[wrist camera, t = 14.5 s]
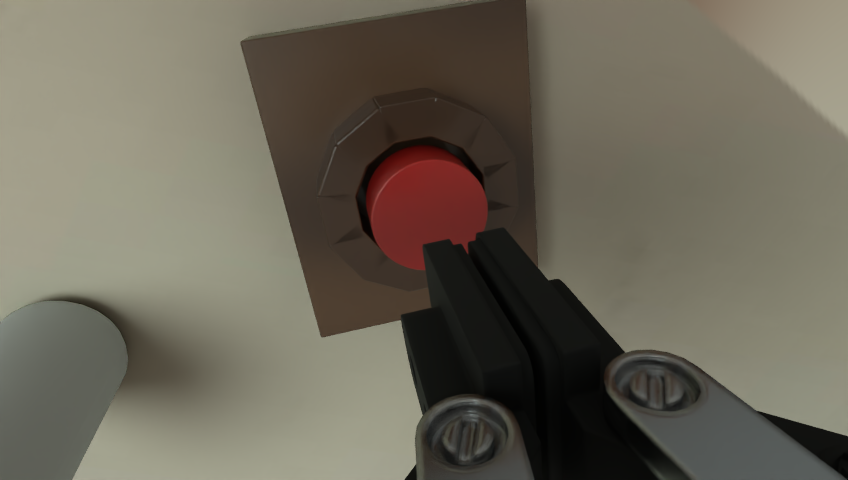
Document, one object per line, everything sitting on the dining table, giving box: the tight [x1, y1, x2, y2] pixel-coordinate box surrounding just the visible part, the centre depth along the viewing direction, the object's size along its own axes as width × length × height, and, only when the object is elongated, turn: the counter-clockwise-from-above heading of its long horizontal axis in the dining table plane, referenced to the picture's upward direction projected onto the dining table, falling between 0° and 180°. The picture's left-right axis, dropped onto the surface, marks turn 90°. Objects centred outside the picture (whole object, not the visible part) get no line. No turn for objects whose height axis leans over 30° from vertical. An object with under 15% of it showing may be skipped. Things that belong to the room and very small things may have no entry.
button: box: [366, 145, 488, 270], centre depth 16 cm, size 4×4×2 cm
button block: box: [240, 0, 538, 337], centre depth 19 cm, size 11×9×4 cm
